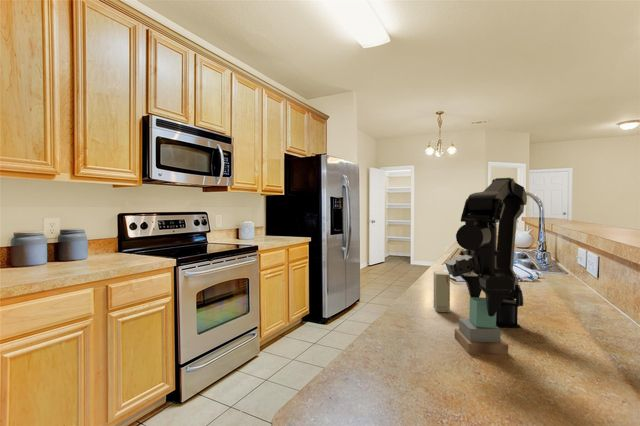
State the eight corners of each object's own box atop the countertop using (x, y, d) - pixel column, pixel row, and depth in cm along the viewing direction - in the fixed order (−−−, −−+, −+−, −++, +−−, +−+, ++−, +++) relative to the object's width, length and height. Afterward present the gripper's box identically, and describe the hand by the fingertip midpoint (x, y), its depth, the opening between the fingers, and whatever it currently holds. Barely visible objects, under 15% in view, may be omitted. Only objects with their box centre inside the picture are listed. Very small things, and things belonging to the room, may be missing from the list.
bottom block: (490, 341, 85) (490, 329, 85) (507, 357, 76) (508, 344, 76) (454, 340, 86) (454, 328, 86) (468, 356, 77) (468, 343, 77)
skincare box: (450, 313, 105) (450, 274, 105) (435, 312, 106) (436, 274, 105) (446, 307, 111) (447, 270, 111) (433, 306, 112) (433, 270, 112)
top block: (487, 330, 84) (487, 319, 84) (500, 342, 78) (500, 329, 77) (459, 330, 85) (459, 318, 85) (469, 341, 78) (470, 328, 78)
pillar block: (487, 321, 83) (488, 297, 82) (495, 328, 78) (496, 302, 78) (469, 320, 83) (469, 296, 83) (476, 327, 78) (476, 301, 78)
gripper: (437, 241, 90) (436, 298, 90) (463, 251, 71) (462, 323, 71) (479, 241, 89) (478, 298, 89) (517, 251, 70) (515, 324, 71)
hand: (482, 309), depth 80 cm, fingers open, 9 cm apart
